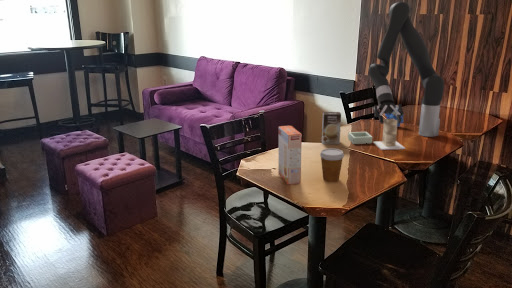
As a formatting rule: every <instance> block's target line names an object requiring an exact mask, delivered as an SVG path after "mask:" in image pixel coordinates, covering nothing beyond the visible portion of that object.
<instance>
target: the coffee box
mask: <svg viewBox="0 0 512 288" xmlns="http://www.w3.org/2000/svg"><path fill="white" fill-rule="evenodd" d="M341 120H342V113H341V112H340V111H322V123H321V124H322V125H321V126H322V127H321V129H322V130H321V144H323V145H340V143H341V142H340V139H341V127H342V124H341V123H342V121H341Z"/></svg>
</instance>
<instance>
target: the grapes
mask: <svg viewBox="0 0 512 288" xmlns="http://www.w3.org/2000/svg"><path fill="white" fill-rule="evenodd" d="M395 109H396V110H397V108H395ZM397 111H398V110H397ZM393 112H394V111H393ZM384 116H385V117H386V119H395V120H397V117H396V116H395V115H393V114H392V113H391V114H385V113H384ZM403 123H404V114H403V115H402V116H401V122H400V124H398V122H397V127H400V126H401V124H403Z"/></svg>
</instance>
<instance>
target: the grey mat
mask: <svg viewBox="0 0 512 288" xmlns="http://www.w3.org/2000/svg"><path fill="white" fill-rule="evenodd" d="M372 144H374V145H375V146H376V147H377V148H378V149H379V150H381V151H382V150H383V151H385V150H405V149H406V147H405V146H403V144H401V143H399V142H398V141H397V140H396V145H395V146H385V145H384V144H382V141H379V140H378V141H372Z"/></svg>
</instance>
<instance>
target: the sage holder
mask: <svg viewBox="0 0 512 288" xmlns="http://www.w3.org/2000/svg"><path fill="white" fill-rule="evenodd" d="M347 139H348V140H349V141H350V142H351V143H352V145H360V144H363V145H365V144H366V143H367V144H373V136H372V135H371V134H370V133H369V132H367V131H353V132H352V131H350V132H349V131H348V135H347Z"/></svg>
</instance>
